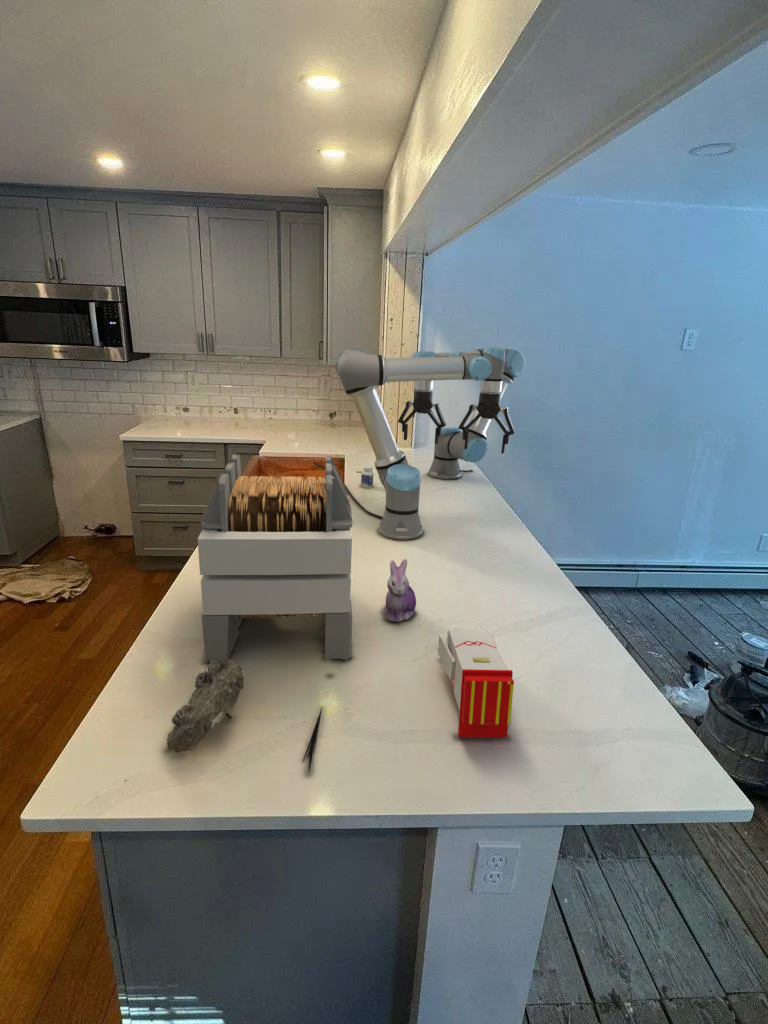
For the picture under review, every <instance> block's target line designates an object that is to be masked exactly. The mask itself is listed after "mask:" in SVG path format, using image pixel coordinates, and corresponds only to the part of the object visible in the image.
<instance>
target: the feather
mask: <svg viewBox="0 0 768 1024" xmlns="http://www.w3.org/2000/svg"><path fill="white" fill-rule="evenodd" d="M329 675H330V676H331V675H332V674H331V673H330V674H329ZM322 710H323V707H321V708H320V710H319V713H318V716H317V719H316V723H315V725H314V728H313V731H312V733H311V737H310V739H309V742H308V745H307V748H306V751H305V754H304V757H303V760H302V763H301V767H302V765H303V763H304V761H305V758H308V759H309V760H308V762H307V763H308V764H307V766H308V771H310V770H311V766H312V765H311V764H312V760H313V757H315V756H314V755H315V751H316V749H315V746H317V739H318V733H319V729H320V722H321V717H322V712H323V711H322ZM313 754H314V755H313ZM306 755H307V757H306Z"/></svg>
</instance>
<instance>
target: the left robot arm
mask: <svg viewBox="0 0 768 1024" xmlns="http://www.w3.org/2000/svg"><path fill="white" fill-rule="evenodd" d="M483 349H484V351H483V353H464V352H465V351H454V353H452V354H451V355H450V357H411V356H410V357H385V356H384V355H383V354H371V353H366V352H364V351H363V350H362V349H359V348H356V347H353V348H348V349H345V350H343V351H342V352H341V353H340V354H339V355H338V357H337V358H336V361H335V372H336V374H337V376H338V377H339V379H340V382H341V385H342V387H343V390H344V392H345V394H346V395H347V396H349V397H351V398H352V400H353V403H354V406H355V408H356V410H357V413H358V415H359V418H360V420H361V423H362V425H363V428H364V430H365V433H366V435H367V438H368V440H369V443H370V446H371V448H372V450H373V453H374V455H375V458H376V459H375V460H374V464H373V465H374V467H375V469H376V472H377V474H378V479H379V481H380V483H381V485H382V486H383V489H384V491H385V504H384V505H385V507H384V508H385V509H384V513H383V515H380V514H376V513H373V512H371V511H369V510H367V509H366V508H365V507H364V505H362V504H361V503H360V502H359V501H358V500H357V499H356V498H355V496H354V495H353V494H352V493H351V491H350V490H349V488H348V486H347V485H346V484H345V483H344V485H345V487H346V489H347V492H348V494H349V497H350V498H351V499H352V500H353V502H355V504H356V505H357V506H358V507H359V508H360V509H361V510H362V511H364V512H365V513H366V514H367V515H369V516H372V517H374V518H378V519H381V522H379V526H378V533H379V534H380V535H381V536H382V537H385V538H387V539H389V540H395V541H410V540H415V539H418V538H420V537H421V536H422V535H423V525H422V524H421V518H420V515H419V507H420V506H419V505H420V494H421V493H420V492H421V483H422V478H421V476H422V475H421V471H420V470H419V468H417V467H416V466H413V465H412V464H411V465H410V464H409V461H408V459H407V457H406V454H405V452H404V451H403V450H400V449H399V447H398V445H397V442H396V440H395V436H394V434H393V431H392V429H391V426H390V423H389V421H388V418H387V416H386V413H385V410H384V407H383V404H382V402H381V400H380V397H379V394H378V392H377V389H376V387H379V386H380V387H382V386H384V385H385V384H386V383H400V382H402V383H403V382H415V381H433V382H435V381H458V380H459V381H460V380H461V381H465V380H468V381H469V380H470V381H471V380H473V381H476V382H478V381H479V382H480V383H479V385H480V386H479V391H480V392H479V397H478V403H479V404H478V403H477V405H478V406H477V405H476V404H473V403H472V404H470V405H469V406H468V411H467V412H466V414H465V416H464V417H463V419H462V421H460V424H459V426H458V427H457V428H459V429H461V431H462V430H463V440H465V448H464V449H467V448H468V439H469V431H468V430H467V429H468V428H469V427H470V426H471V425H472V424H474V423H475V422H476V421H477V420H478V419H479V418H480V417H482V418H484V419H486V418H488V419H492V420H493V419H494V421H495V422H496V423H497V425H498V426H499V428H500V429H501V430H502V432H503V433H504V434H503V436H502V443H501V453H500V454H505V448H506V445H508V444H509V441H510V436H512V435H514V434H516V431H515V428H514V425H513V422H512V419H511V417H510V414H509V407H508V406H506V407H501V400H500V398H501V395H500V392H501V389H502V378H503V370H504V363H505V350H504V349H505V348H502V347H495V346H494V347H493V346H491V347H490V346H487V347H483ZM501 399H502V398H501ZM476 409H477V411H478V412H479V414H478V415H477V416H476V417H475V418H474V419H473V420H472V421H471V420H470V421H471V422H470V421H469V423H468V424H466V422H467V421H468V419H469V418H470V416H471V415H472V413H473V412H475V410H476ZM500 412H501V413H502V414H503V416H504V418H505V422H506V424H507V426H506V425H505V423H504V422H503V420H502V419H501V417H500V416H499V413H500ZM465 424H466V425H465ZM507 427H508V428H507ZM313 465H315V466H317V467H319V468H321V469H322V470H325V466H323V465H321V464H320V463H317V462H315V461H314V462H313Z"/></svg>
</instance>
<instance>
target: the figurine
mask: <svg viewBox="0 0 768 1024" xmlns="http://www.w3.org/2000/svg"><path fill="white" fill-rule="evenodd" d="M407 567H408V559H406V558H404V559H403V560H402V561H401V563H400V565H399V566H398V565H397V563H396V562H395V561H394V560H393V559H391V560H390V561H389V570H390V576H389V578H388V579H387V589H388V591H387V592H386V594H385V595H386V596H385V607H384V615H385V616H386V620H387V621H391V622H395V623H400V622H402V621H406V620H409V619H410V618H411V617H413V616H414V615H415V610H416V606H417V597H416V593H415V591H414V590H413V587H411V586H410V582H409V579H408V577H407V574H406V571H407Z"/></svg>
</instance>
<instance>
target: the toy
mask: <svg viewBox="0 0 768 1024" xmlns="http://www.w3.org/2000/svg"><path fill="white" fill-rule="evenodd" d="M446 640H447V643H446V641H445V639H444V636H443V635H442V634H439V637H438V646H437V656H438V657H439V659H440V661H441V663H442V666H443V668H444V670H445V672H446V674H447V677H448V679H449V681H450V684H451V687H452V690H453V693H454V697H455V701H456V705H457V708H458V711H459V714H458V715H459V716H458V730H457V731H458V732H457V737H458V738H508V731H509V726H510V725H511V717H512V707H513V697H514V696H513V695H514V684H515V680H514V679H513V673H514V671H513V670H512V669H508V667H507V665H506V662H505V661H504V659H503V658H502V655H501V653H500V651H499V649H498V647H497V643H496V639H495V637H494V635H493V634H491V632H490V631H489V629H467V628H466V629H465V628H463V629H461V628H460V629H459V628H448V630H447V639H446Z"/></svg>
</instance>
